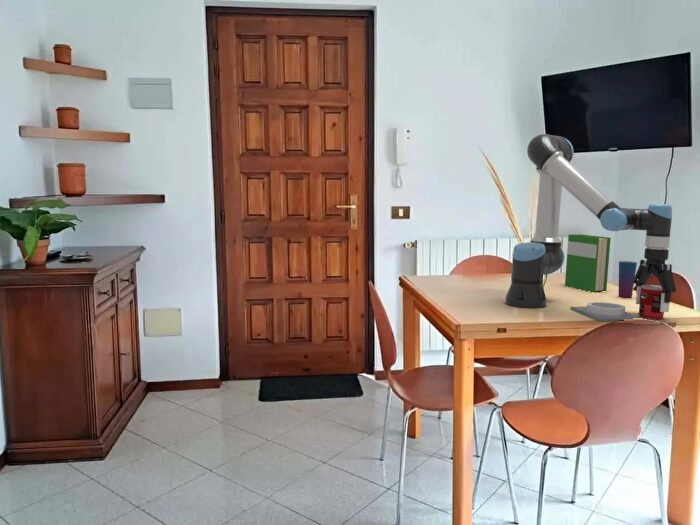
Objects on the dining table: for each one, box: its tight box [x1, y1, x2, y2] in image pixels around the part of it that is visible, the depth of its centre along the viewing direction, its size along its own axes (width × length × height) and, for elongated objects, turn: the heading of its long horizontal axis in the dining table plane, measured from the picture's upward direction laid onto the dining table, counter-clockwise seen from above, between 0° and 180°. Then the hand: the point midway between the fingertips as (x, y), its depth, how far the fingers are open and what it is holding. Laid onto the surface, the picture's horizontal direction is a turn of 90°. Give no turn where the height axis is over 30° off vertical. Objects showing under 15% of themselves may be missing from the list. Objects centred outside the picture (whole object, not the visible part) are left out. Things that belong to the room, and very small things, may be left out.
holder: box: [569, 301, 643, 322], centre depth 215 cm, size 16×20×4 cm
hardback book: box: [564, 233, 611, 293], centre depth 270 cm, size 18×7×24 cm, turn 22°
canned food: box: [638, 284, 665, 320], centre depth 213 cm, size 8×8×11 cm
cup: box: [618, 260, 638, 299], centre depth 251 cm, size 7×7×15 cm
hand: (651, 307), depth 213 cm, fingers open, 13 cm apart
